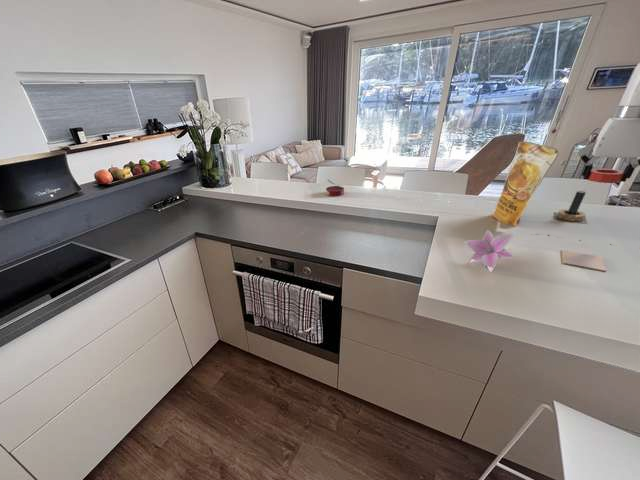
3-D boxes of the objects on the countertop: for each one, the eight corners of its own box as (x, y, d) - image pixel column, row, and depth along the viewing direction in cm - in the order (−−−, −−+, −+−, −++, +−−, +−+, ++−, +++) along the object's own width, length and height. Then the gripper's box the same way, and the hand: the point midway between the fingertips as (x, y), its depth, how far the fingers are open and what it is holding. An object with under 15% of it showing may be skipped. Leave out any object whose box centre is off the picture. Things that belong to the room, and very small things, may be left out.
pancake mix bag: (505, 212, 119) (529, 139, 105) (531, 231, 103) (563, 148, 89) (487, 212, 120) (508, 141, 106) (509, 231, 104) (538, 149, 90)
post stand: (583, 218, 108) (597, 189, 102) (586, 227, 102) (600, 196, 96) (552, 215, 113) (563, 187, 107) (552, 222, 107) (565, 194, 101)
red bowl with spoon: (328, 199, 166) (329, 182, 166) (345, 198, 162) (346, 181, 162) (322, 196, 156) (323, 177, 156) (341, 194, 152) (341, 176, 151)
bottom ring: (582, 216, 107) (584, 210, 106) (583, 222, 102) (586, 217, 101) (556, 213, 111) (558, 208, 110) (557, 219, 106) (559, 214, 105)
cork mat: (601, 257, 85) (602, 256, 84) (605, 271, 79) (606, 270, 79) (560, 251, 90) (561, 250, 89) (562, 263, 84) (562, 262, 84)
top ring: (618, 177, 86) (622, 169, 85) (622, 184, 81) (627, 175, 80) (585, 176, 90) (589, 167, 89) (587, 181, 85) (591, 173, 84)
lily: (458, 255, 95) (458, 237, 88) (495, 240, 92) (499, 220, 85) (480, 283, 87) (482, 265, 80) (522, 267, 84) (528, 248, 77)
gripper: (682, 109, 74) (644, 178, 83) (588, 113, 84) (563, 174, 93) (691, 112, 69) (649, 185, 78) (591, 115, 79) (564, 180, 88)
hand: (603, 179), depth 85 cm, fingers closed on top ring, 7 cm apart
